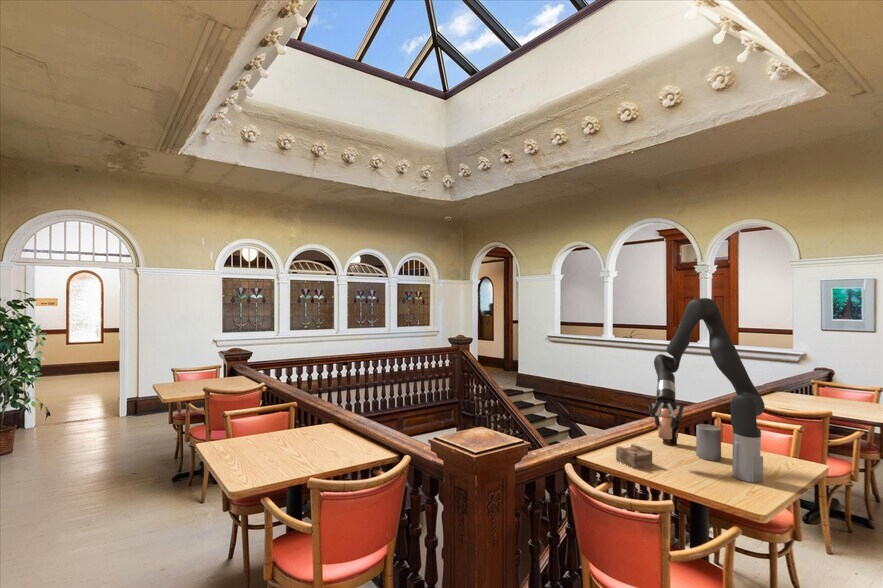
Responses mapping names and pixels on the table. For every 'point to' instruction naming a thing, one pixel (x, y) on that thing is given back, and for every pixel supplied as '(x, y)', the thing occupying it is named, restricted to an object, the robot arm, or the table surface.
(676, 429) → the coffee cup
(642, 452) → the pedestal
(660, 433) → the peg doll
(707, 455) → the pillar candle
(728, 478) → the table surface
